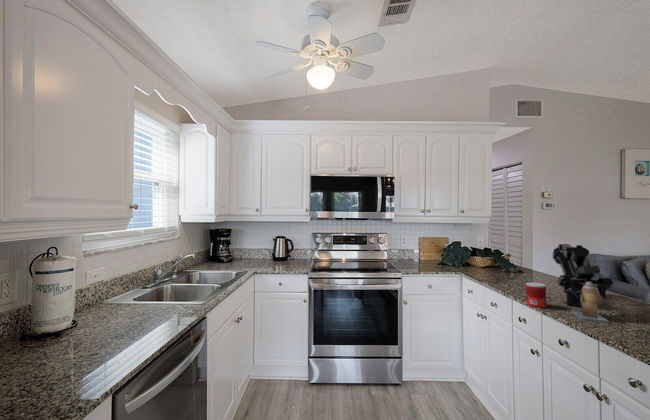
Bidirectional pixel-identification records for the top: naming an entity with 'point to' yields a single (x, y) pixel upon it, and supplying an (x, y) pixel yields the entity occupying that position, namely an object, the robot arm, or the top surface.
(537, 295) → the canned food
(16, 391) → the top surface
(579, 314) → the plate
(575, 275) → the robot arm
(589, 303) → the pepper mill
